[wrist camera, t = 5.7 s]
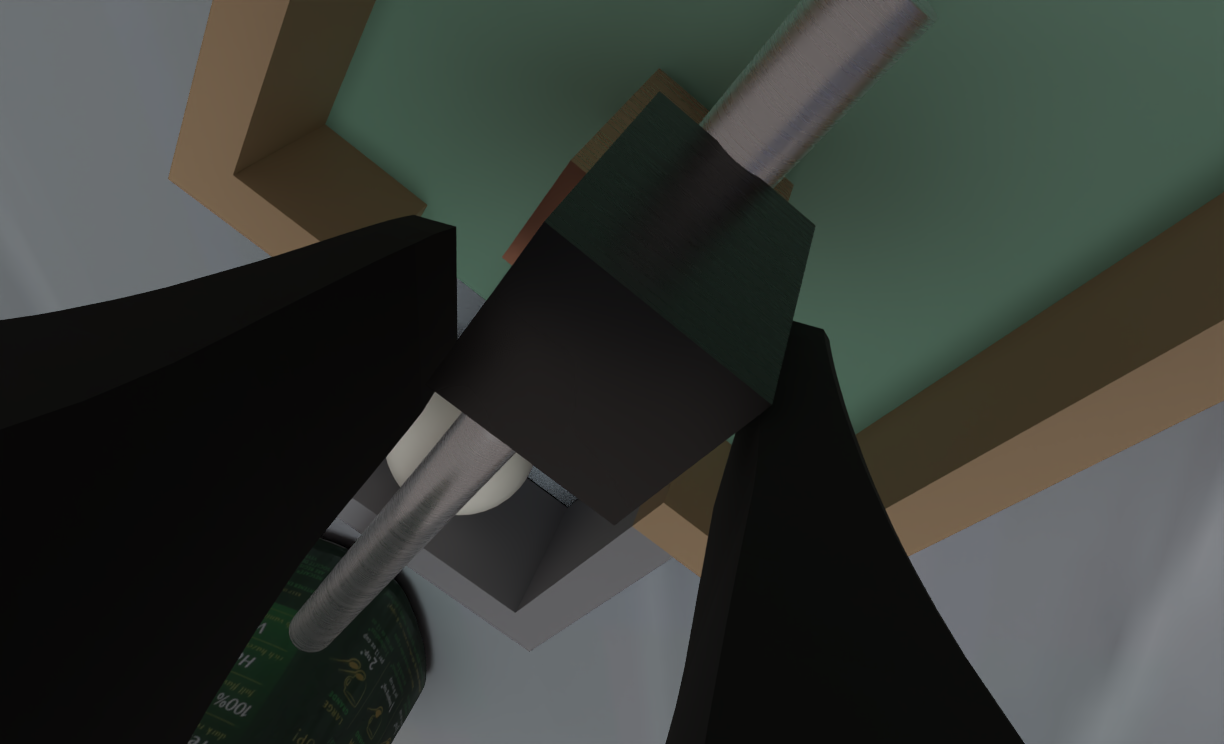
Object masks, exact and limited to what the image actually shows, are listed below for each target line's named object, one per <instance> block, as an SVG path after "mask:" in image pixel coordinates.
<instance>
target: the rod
mask: <svg viewBox="0 0 1224 744" xmlns="http://www.w3.org/2000/svg"><path fill="white" fill-rule="evenodd" d="M937 20H938V18H937V15H936V13H935V11H934V10H933V8H932V7H931V5H930V4H929V3H928V1H927V0H801V1H800V2H799V3H798V4H797V5H796V7H795V8H794V9H793V10H792V12H791V13H790V14H789V15H788V16H787V18H786V19H785V20H784V21H783V23H782V24H781V25H780V26H779V27H778V29H777V30H776V31H775V32H774V33H773V35H772V36H771V37H770V38H769V40H768V41H767V42H766V43H765V44H764V46H763V47H762V48H761V49H760V50H759V52H758V53H757V54H756V55H755V57H754V58H753V59H752V60H751V61H750V63H749V64H748V65H747V66H746V67H745V69H744V70H743V71H742V72H741V74H740V75H739V76H738V77H737V78H736V80H735V81H734V82H733V83H732V85H731V86H730V87H729V88H728V89H727V91H726V92H725V93H724V94H723V95H722V97H721V98H720V99H719V100H718V102H717V103H716V104H715V105H714V106H713V108H712V109H711V110H710V111H708V110H707V109H706V108H705V107H704V106H703V105H701V104H700V103H699V102H698V101H697V100H696V99H694V98H693V97H692V96H691V95H690V94H689V93H688V92H686V91H685V90H684V89H683V88H682V87H681V86H679V85H678V84H677V83H676V82H675V81H674V80H673V79H671V78H670V77H669V76H668V75H667V74H666V73H664V72H663V71H662V70H661V69H660V68H659V69H658V70H657V71H656V72H655V73H654V74H653V75H652V76H651V77H650V78H649V79H648V80H647V81H646V82H645V83H644V84H643V85H642V86H641V87H640V89H639V90H638V91H637V92H636V93H635V94H634V95H633V96H632V97H631V98H630V99H629V100H628V101H627V102H626V103H625V104H624V105H623V106H622V107H621V108H620V109H619V110H618V111H617V112H616V114H615V115H614V116H613V117H612V118H611V119H610V120H609V121H608V122H607V123H606V124H605V125H604V126H603V127H602V128H601V129H600V130H599V131H598V132H597V133H596V134H595V135H594V136H593V137H592V138H591V140H590V141H589V142H588V143H587V144H586V145H585V146H584V147H583V148H582V149H581V150H580V151H579V152H578V153H577V154H576V155H575V156H574V157H573V158H572V159H571V160H570V162H569V163H568V165H567V166H566V167H565V169H564V170H563V172H562V173H561V175H560V176H559V177H558V179H557V180H556V182H555V183H554V184H553V186H552V187H551V189H550V190H549V191H548V193H547V194H546V196H545V197H544V199H543V200H542V201H541V203H540V204H539V206H538V207H537V208H536V210H535V211H534V213H533V214H532V215H531V217H530V218H529V220H528V221H527V223H526V224H525V225H524V227H523V228H522V230H521V231H520V232H519V234H518V235H517V237H516V238H515V239H514V241H513V242H512V244H511V245H510V246H509V248H508V249H507V251H506V252H505V254H504V255H503V256H502V258H503V259H504V260H506V261H507V262H508V263H510V264H511V265H512V266H511V268H510V269H509V270H508V272H507V273H506V274H505V276H504V277H503V279H502V280H501V281H500V283H499V284H498V285H497V287H496V288H495V290H494V291H493V292H492V294H491V295H490V296H489V298H488V299H487V301H486V302H485V303H484V305H483V306H482V307H481V309H480V310H479V311H478V313H477V314H476V316H475V317H474V318H473V320H472V321H471V322H470V324H469V325H468V327H467V328H466V329H465V331H464V332H463V333H462V335H461V336H460V338H459V339H458V340H457V342H456V343H455V344H454V346H453V347H452V348H451V350H450V351H449V353H448V354H447V355H446V357H445V358H444V359H443V361H442V362H441V364H440V365H439V366H438V368H437V369H436V370H435V372H434V373H433V375H432V376H431V377H430V379H429V380H428V381H427V383H426V384H425V385H426V386H428V387H429V388H430V389H432V390H433V391H435V392H436V393H437V394H439V395H440V396H441V397H443V398H444V399H445V400H447V401H448V402H449V403H451V404H452V405H453V406H455V407H456V408H457V409H459V410H460V411H461V412H462V413H461V414H460V415H459V417H458V418H457V419H456V420H455V421H454V423H453V424H452V425H451V426H450V427H449V429H448V430H447V431H446V432H445V434H444V435H443V436H442V437H441V438H440V440H439V441H438V442H437V443H436V444H435V446H434V447H433V448H432V449H431V451H430V452H429V453H428V454H427V455H426V457H425V458H424V459H423V460H422V462H421V463H420V464H419V465H418V466H417V468H416V469H415V470H414V471H413V472H412V474H411V475H410V476H409V477H408V479H407V480H406V481H405V482H404V483H403V485H402V486H401V487H400V488H399V489H398V491H397V492H396V493H395V494H394V496H393V497H392V498H391V499H390V500H389V502H388V503H387V504H386V505H385V507H384V508H383V509H382V510H381V511H380V513H379V514H378V515H377V516H376V517H375V519H374V520H373V521H372V522H371V524H370V525H369V526H368V527H367V528H366V530H365V531H364V532H363V533H362V534H361V536H360V537H359V538H358V539H357V541H356V542H355V543H354V544H353V545H352V547H351V548H350V549H349V550H348V552H347V553H346V554H345V555H344V556H343V558H342V559H341V560H340V561H339V562H338V564H337V565H336V566H335V567H334V569H333V570H332V571H331V572H330V573H329V575H328V576H327V577H326V578H325V579H324V581H323V582H322V583H321V584H320V586H319V587H318V588H317V589H316V590H315V592H314V593H313V594H312V595H311V597H310V598H309V599H308V600H307V601H306V603H305V604H304V605H303V606H302V607H301V609H300V610H299V611H298V612H297V614H296V615H295V616H294V617H293V619H292V620H291V622H290V625H289V636H290V639H291V641H292V643H293V644H294V645H295V646H296V647H297V648H298V649H300V650H301V651H304V652H309V653H313V652H318V651H321V650H323V649H324V648H326V647H327V646H328V645H329V644H330V643H331V642H332V641H333V640H334V639H335V638H336V637H337V636H338V635H339V634H340V633H341V632H342V631H343V630H344V629H345V628H346V627H347V626H348V625H349V624H350V623H351V622H352V620H353V619H354V618H355V617H356V616H357V615H358V614H359V613H360V612H361V611H362V610H363V609H364V608H365V607H366V606H367V605H368V604H369V603H370V602H371V601H372V600H373V599H374V598H375V597H376V596H377V595H378V594H379V593H380V592H381V591H382V590H383V589H384V588H385V587H386V586H387V585H388V584H389V582H390V581H391V580H392V579H393V578H394V577H395V576H396V575H397V574H398V573H399V572H400V571H401V570H402V569H403V568H404V567H405V566H406V565H407V564H408V563H409V562H410V561H411V560H412V559H413V558H414V557H415V556H416V555H417V554H418V553H419V552H420V551H421V550H422V549H423V548H424V547H425V546H426V544H427V543H428V542H429V541H430V540H431V539H432V538H433V537H434V536H435V535H436V534H437V533H438V532H439V531H440V530H441V529H442V528H443V527H444V526H445V525H446V524H447V523H448V522H449V521H450V520H451V519H452V518H453V517H454V516H455V515H456V514H457V513H458V512H459V511H460V510H461V509H462V508H463V506H464V505H465V504H466V503H467V502H468V501H469V500H470V499H471V498H472V497H473V496H474V495H475V494H476V493H477V492H478V491H479V490H480V489H481V488H482V487H483V486H484V485H485V484H486V483H487V482H488V481H489V480H490V479H491V478H492V477H493V476H494V475H495V474H496V473H497V472H498V471H499V470H500V468H501V467H502V466H503V465H504V464H505V463H506V462H507V461H508V460H509V459H510V458H511V457H512V456H513V455H514V454H515V453H518V454H519V455H520V456H522V457H523V458H524V459H526V460H527V461H528V462H530V463H531V464H532V465H534V466H535V467H536V468H538V469H539V470H540V471H542V472H543V473H544V474H546V475H547V476H548V477H550V478H551V479H553V480H554V481H555V482H557V483H558V484H559V485H561V486H562V487H563V488H565V489H566V490H567V491H569V492H570V493H571V494H573V495H574V496H575V497H577V498H578V499H579V500H581V501H582V502H583V503H585V504H586V505H587V506H589V507H590V508H591V509H593V510H594V511H595V512H597V513H598V514H599V515H601V516H602V517H603V518H605V519H606V520H608V521H609V522H610V523H612V524H613V525H616V524H617V523H618V522H620V521H621V520H622V519H623V518H625V517H626V516H627V515H629V514H630V513H631V512H633V511H634V510H635V509H637V508H638V507H639V506H640V505H642V504H643V503H644V502H646V501H647V500H648V499H650V498H651V497H652V496H654V495H655V494H656V493H658V492H659V491H660V490H661V489H663V488H664V487H665V486H667V485H668V484H669V483H671V482H672V481H673V480H675V479H676V478H677V477H679V476H680V475H681V474H682V473H684V472H685V471H686V470H688V469H689V468H690V467H692V466H693V465H694V464H696V463H697V462H698V461H699V460H701V459H702V458H703V457H705V456H706V455H707V454H709V453H710V452H711V451H713V450H714V449H715V448H717V447H718V446H719V445H720V444H722V443H723V442H724V441H726V440H727V439H728V438H730V437H731V436H732V435H734V434H735V433H736V432H737V431H739V430H740V429H741V428H743V427H744V426H745V425H747V424H748V423H749V422H751V421H752V420H753V419H755V418H756V417H757V416H758V415H760V414H761V413H762V412H764V411H765V410H766V409H768V408H769V407H770V406H772V403H773V399H774V395H775V391H776V387H777V383H778V379H779V375H780V370H781V366H782V362H783V358H784V354H785V350H786V346H787V342H788V338H789V333H790V329H791V325H792V321H793V317H794V313H795V309H796V305H797V301H798V296H799V292H800V288H801V284H802V280H803V276H804V272H805V268H806V264H807V259H808V255H809V251H810V247H811V243H812V239H813V235H814V231H815V227H816V225H814V224H813V223H812V222H811V221H810V220H809V219H808V218H806V217H805V216H804V215H803V214H802V213H801V212H799V211H798V210H797V209H796V208H795V207H794V206H792V205H791V204H790V203H789V202H788V201H789V198H790V195H791V192H792V189H793V186H794V184H792V183H791V182H790V181H789V180H788V179H787V178H785V176H786V175H787V174H788V173H789V172H790V171H791V170H792V169H793V168H794V167H795V166H796V164H797V163H798V162H799V161H800V160H801V159H802V158H803V157H804V156H805V155H806V154H807V153H808V152H809V151H810V150H811V149H812V148H813V147H814V146H815V145H816V144H817V143H818V142H819V141H820V140H821V139H822V138H823V137H824V136H825V135H826V134H827V133H828V132H829V131H830V130H831V129H832V128H833V127H834V125H835V124H836V123H837V122H838V121H839V120H840V119H841V118H842V117H843V116H844V115H845V114H846V113H847V112H848V111H849V110H850V109H851V108H852V107H853V106H854V105H855V104H856V103H857V102H858V101H859V100H860V99H861V98H862V97H863V96H864V95H865V94H866V93H867V92H868V91H869V90H870V89H871V87H872V86H873V85H874V84H875V83H876V82H877V81H878V80H879V79H880V78H881V77H882V76H883V75H884V74H885V73H886V72H887V71H888V70H889V69H890V68H891V67H892V66H893V65H894V64H895V63H896V62H897V61H898V60H899V59H900V58H901V57H902V56H903V55H904V54H905V53H906V52H907V51H908V49H909V48H910V47H911V46H912V45H913V44H914V43H915V42H916V41H917V40H918V39H919V38H920V37H921V36H922V35H923V34H924V33H925V32H926V31H927V30H928V29H929V28H930V27H931V26H932V25H933V24H934V23H935V22H936V21H937Z"/></svg>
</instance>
